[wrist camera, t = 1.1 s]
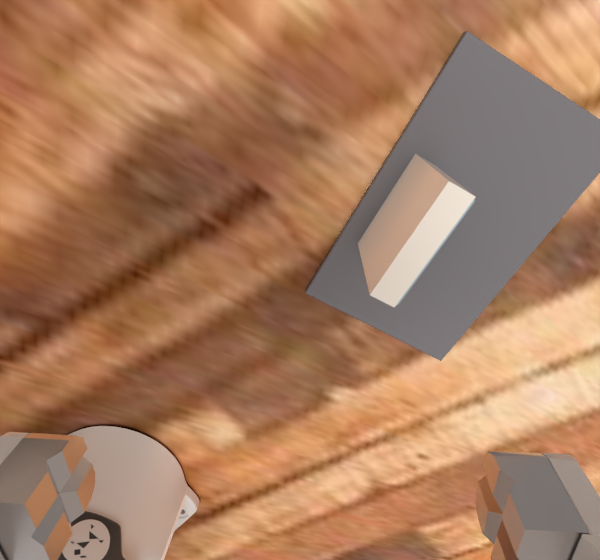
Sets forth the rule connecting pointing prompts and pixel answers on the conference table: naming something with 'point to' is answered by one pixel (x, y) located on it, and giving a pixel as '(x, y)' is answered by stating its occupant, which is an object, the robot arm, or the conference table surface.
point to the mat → (481, 183)
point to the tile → (411, 229)
